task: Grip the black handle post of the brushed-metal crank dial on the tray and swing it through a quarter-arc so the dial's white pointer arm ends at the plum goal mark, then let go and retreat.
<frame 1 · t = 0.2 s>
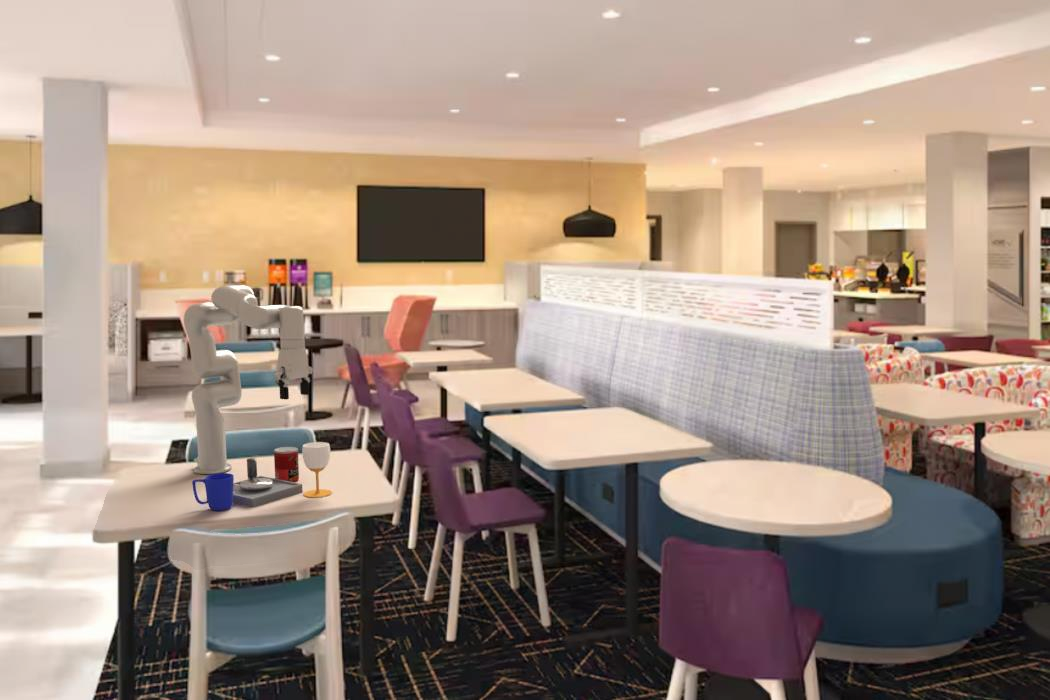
hand: (294, 396, 288), 30 cm above the table, fingers open, 9 cm apart
canned food: (287, 481, 301), on the table
mug: (214, 509, 269), on the table
cup: (317, 494, 284), on the table
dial: (255, 473, 285), point 7 cm above the table, hinge at 0.0°
tray: (257, 494, 284), on the table
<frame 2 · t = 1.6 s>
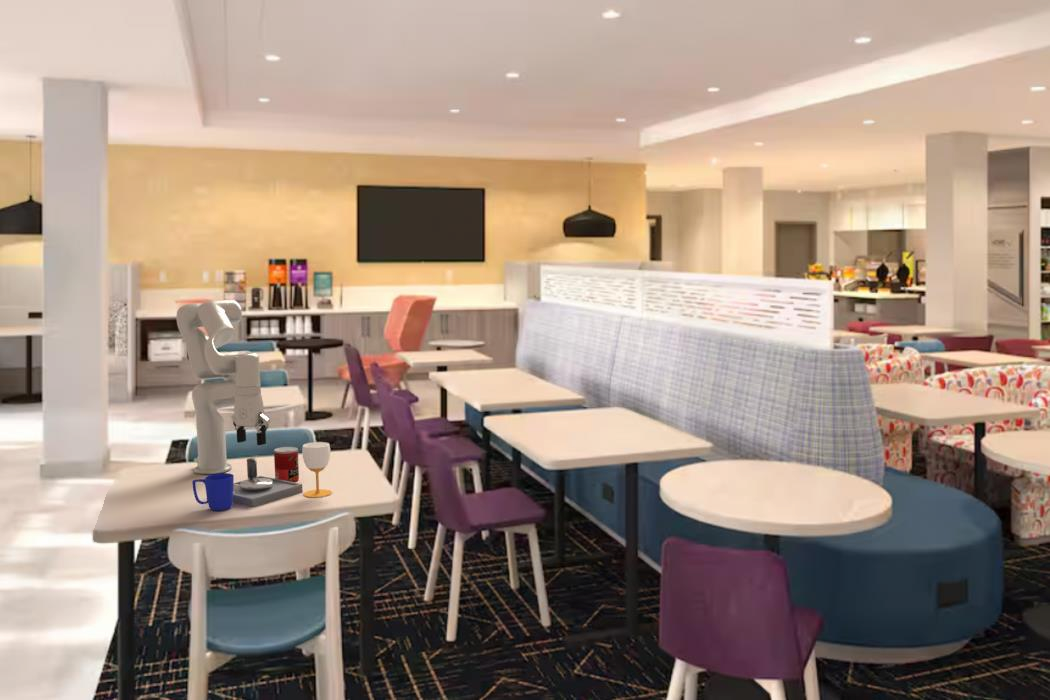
hand: (251, 443, 288), 15 cm above the table, fingers open, 9 cm apart
nothing on the table moved.
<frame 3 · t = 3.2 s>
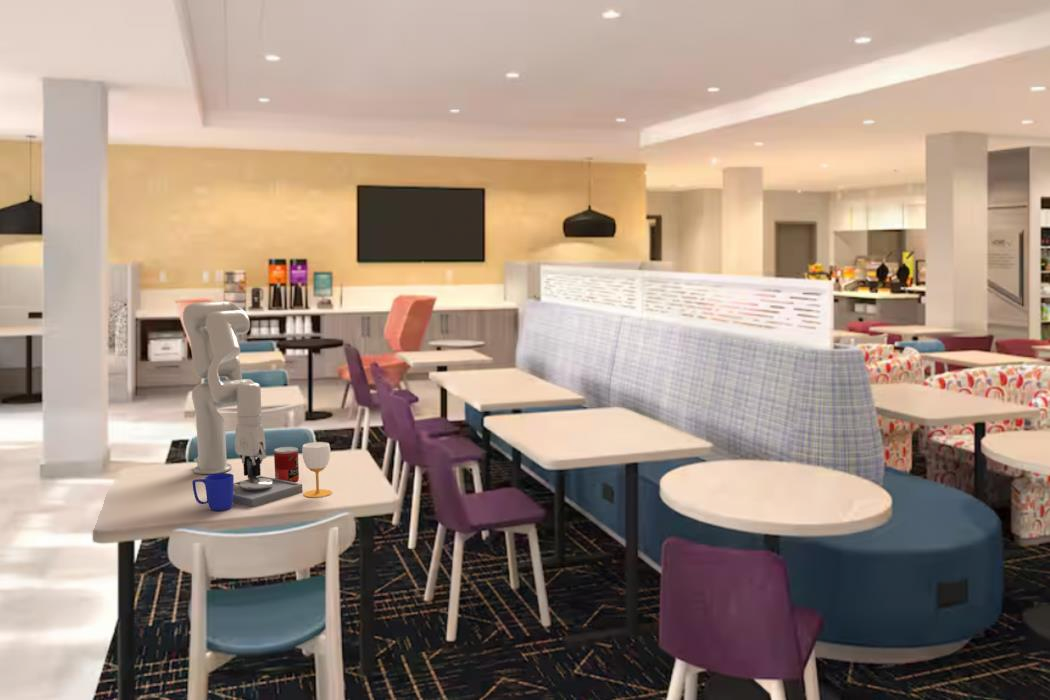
hand: (252, 475, 290), 5 cm above the table, fingers closed on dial, 3 cm apart
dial: (255, 473, 285), point 7 cm above the table, hinge at 0.0°, touching gripper
everything else where it was.
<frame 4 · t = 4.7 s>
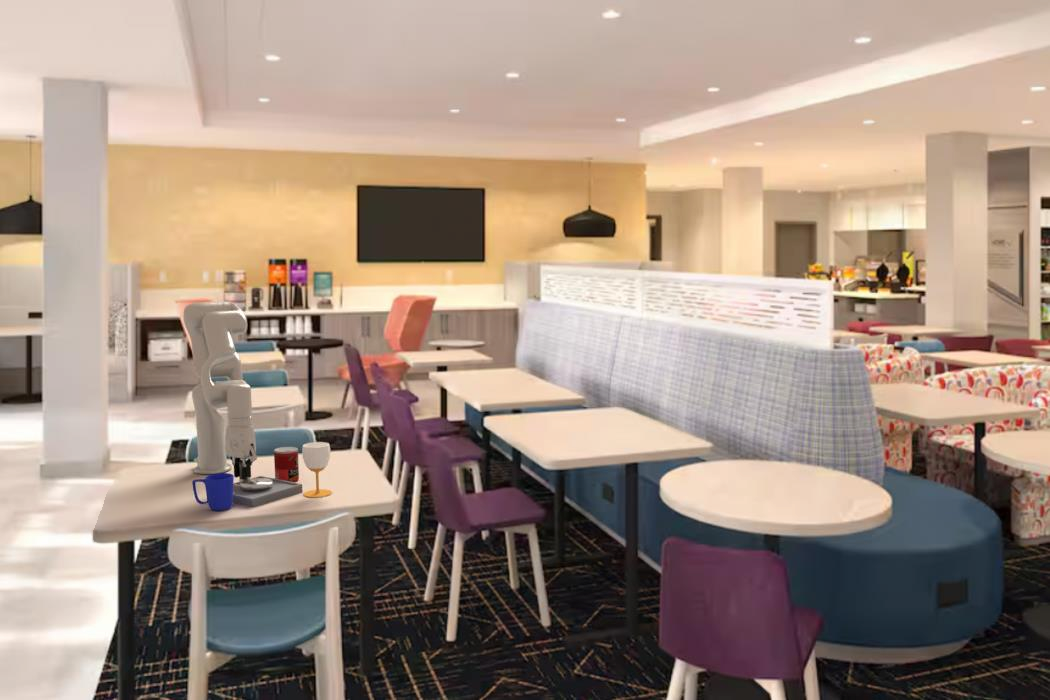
hand: (242, 476, 288), 5 cm above the table, fingers closed on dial, 3 cm apart
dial: (252, 473, 284), point 7 cm above the table, hinge at 20.6°, touching gripper
everything else where it was.
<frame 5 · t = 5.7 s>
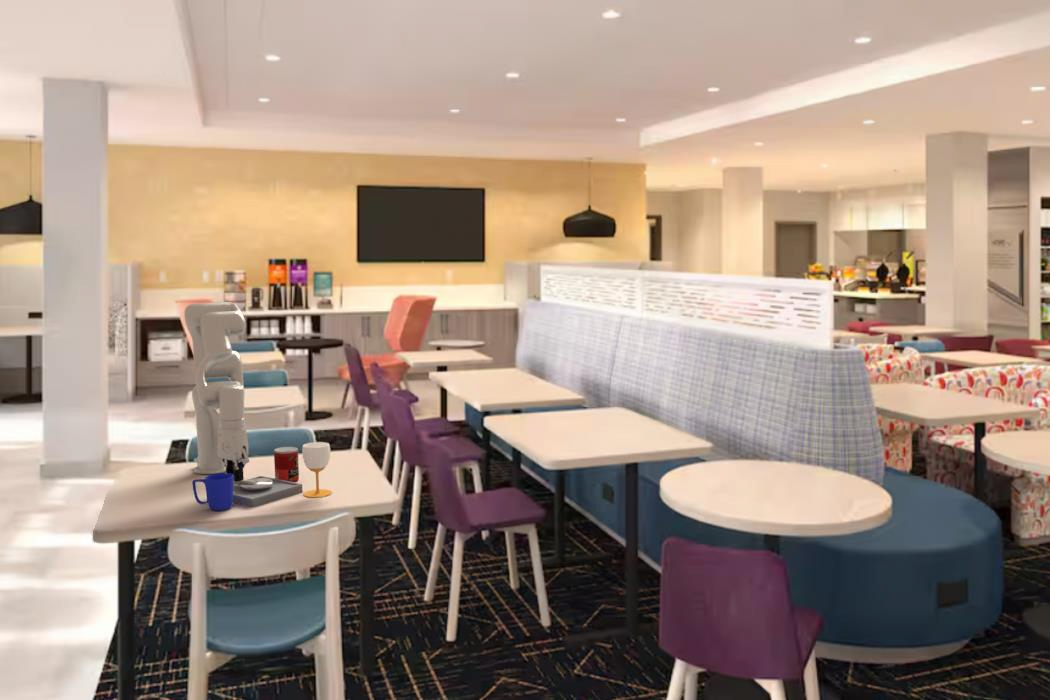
hand: (234, 479, 285), 5 cm above the table, fingers closed on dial, 3 cm apart
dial: (251, 474, 284), point 7 cm above the table, hinge at 39.9°, touching gripper
everything else where it was.
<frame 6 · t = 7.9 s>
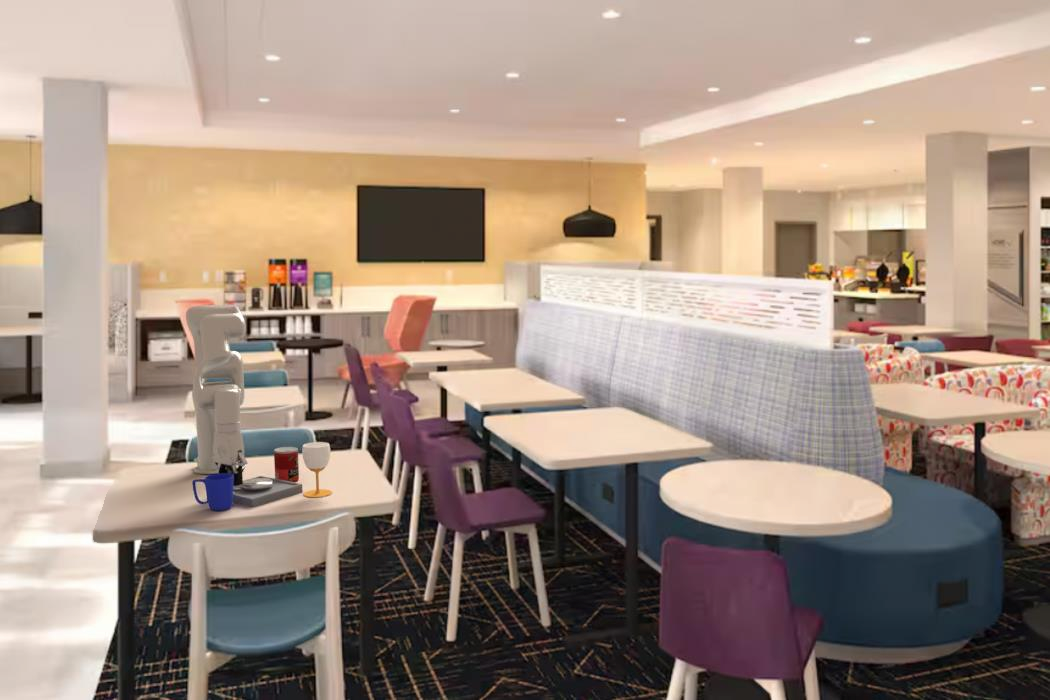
hand: (230, 482, 280), 5 cm above the table, fingers open, 6 cm apart
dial: (249, 475, 283), point 7 cm above the table, hinge at 72.8°
everything else where it was.
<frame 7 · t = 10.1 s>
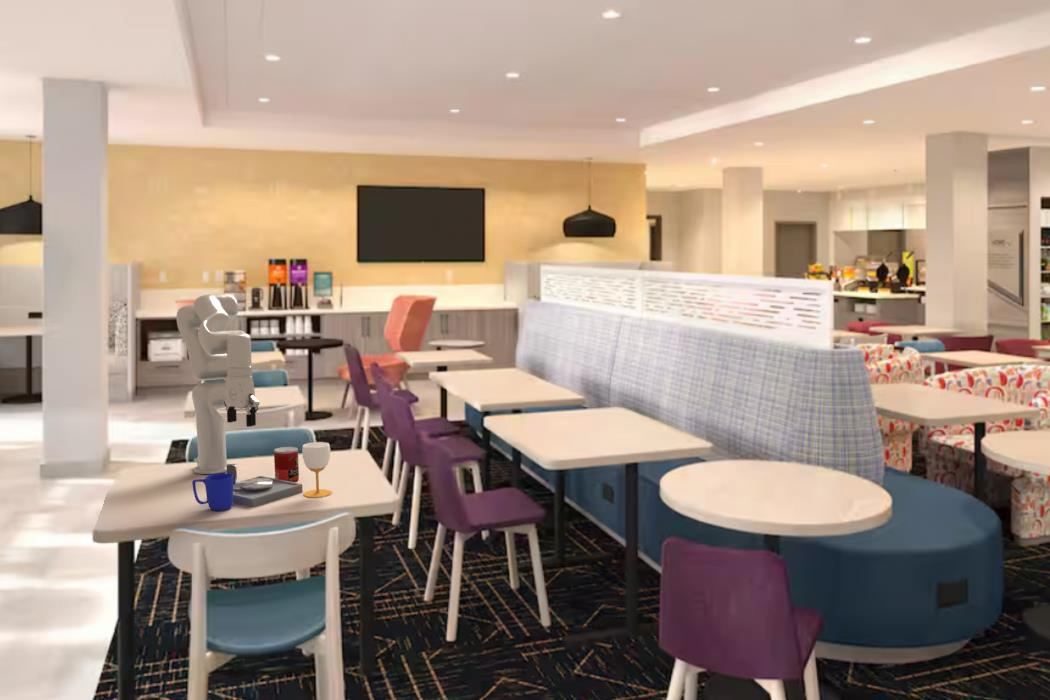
hand: (241, 423, 287), 22 cm above the table, fingers open, 9 cm apart
nothing on the table moved.
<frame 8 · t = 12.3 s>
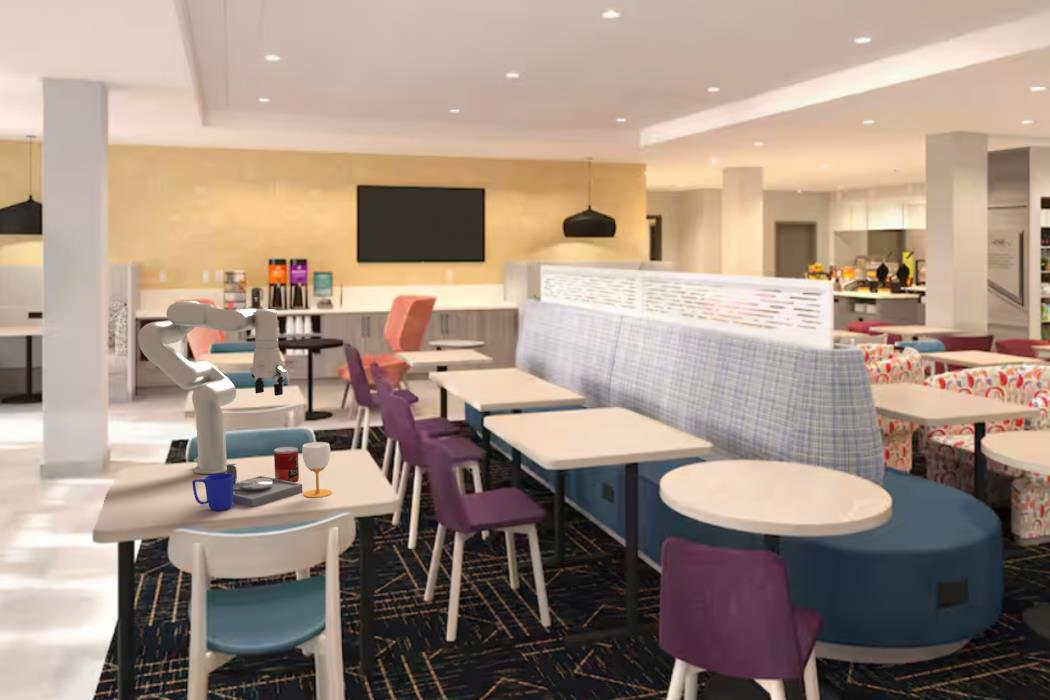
hand: (269, 393, 307), 28 cm above the table, fingers open, 9 cm apart
nothing on the table moved.
at the end: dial at +73° (first picture: +0°); the gripper is holding nothing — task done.
